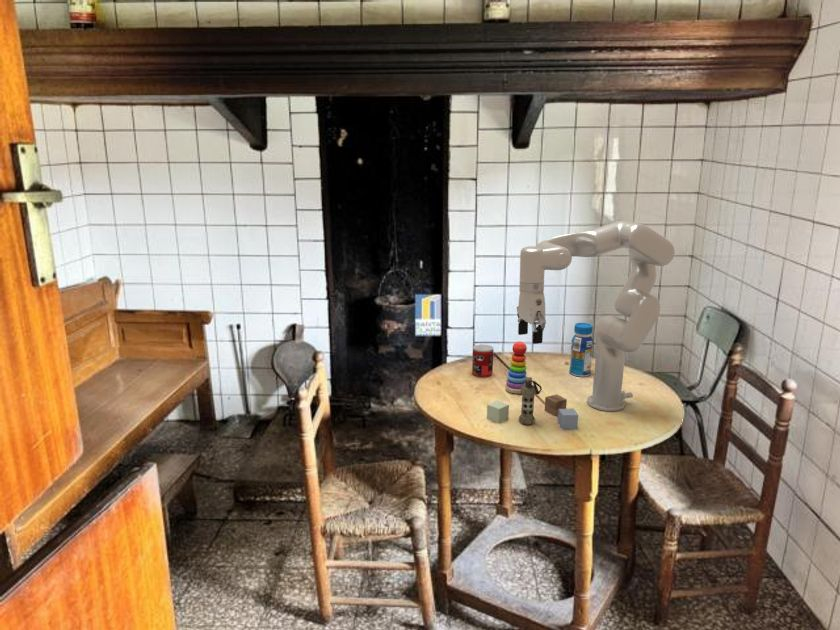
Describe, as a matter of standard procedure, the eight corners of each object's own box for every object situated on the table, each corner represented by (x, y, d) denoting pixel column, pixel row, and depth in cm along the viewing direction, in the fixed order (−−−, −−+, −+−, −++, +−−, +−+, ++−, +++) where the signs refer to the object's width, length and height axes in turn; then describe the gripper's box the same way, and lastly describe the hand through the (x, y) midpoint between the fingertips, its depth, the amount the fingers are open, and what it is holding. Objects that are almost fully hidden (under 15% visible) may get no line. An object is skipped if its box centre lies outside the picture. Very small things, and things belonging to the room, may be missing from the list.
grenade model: (540, 425, 205) (543, 382, 201) (519, 424, 205) (521, 381, 201) (538, 417, 211) (541, 374, 207) (517, 416, 212) (520, 374, 208)
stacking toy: (507, 394, 230) (509, 345, 225) (503, 386, 237) (505, 338, 232) (528, 394, 230) (531, 345, 225) (524, 386, 238) (527, 338, 233)
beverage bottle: (566, 369, 255) (569, 321, 249) (586, 369, 255) (591, 321, 250) (572, 377, 247) (576, 328, 241) (593, 377, 247) (598, 327, 242)
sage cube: (496, 414, 213) (497, 400, 212) (508, 418, 210) (508, 404, 209) (486, 418, 210) (487, 404, 209) (498, 423, 207) (499, 409, 205)
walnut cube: (556, 407, 219) (556, 394, 218) (565, 413, 215) (566, 399, 213) (544, 410, 217) (545, 397, 215) (554, 416, 212) (555, 402, 211)
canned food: (469, 371, 252) (469, 345, 249) (487, 369, 254) (488, 343, 251) (476, 378, 245) (477, 351, 242) (495, 376, 247) (496, 349, 244)
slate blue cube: (572, 422, 208) (573, 408, 206) (577, 429, 203) (578, 415, 202) (557, 423, 207) (558, 408, 206) (561, 429, 203) (562, 415, 201)
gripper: (556, 291, 192) (554, 345, 197) (529, 279, 208) (527, 329, 213) (534, 294, 190) (532, 348, 194) (508, 281, 206) (507, 332, 210)
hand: (530, 338), depth 204 cm, fingers open, 9 cm apart
